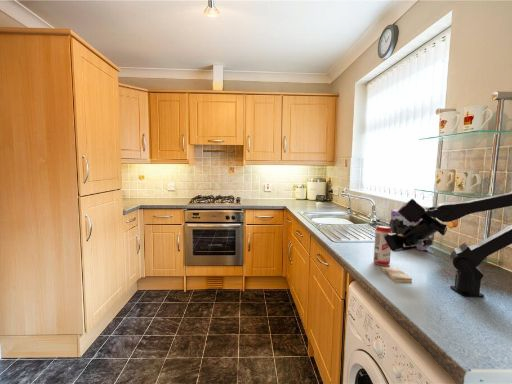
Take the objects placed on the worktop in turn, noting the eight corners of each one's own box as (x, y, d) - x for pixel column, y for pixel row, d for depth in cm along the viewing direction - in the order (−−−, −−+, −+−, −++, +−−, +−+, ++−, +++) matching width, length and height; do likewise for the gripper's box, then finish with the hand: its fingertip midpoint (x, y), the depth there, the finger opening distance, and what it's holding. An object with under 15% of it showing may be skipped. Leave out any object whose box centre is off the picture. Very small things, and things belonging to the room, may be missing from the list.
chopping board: (411, 281, 94) (412, 278, 94) (394, 281, 94) (395, 278, 94) (397, 270, 104) (397, 267, 104) (381, 270, 104) (382, 267, 104)
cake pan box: (387, 240, 144) (389, 209, 142) (394, 239, 146) (396, 208, 144) (421, 251, 127) (424, 215, 125) (428, 250, 129) (431, 215, 127)
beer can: (370, 261, 113) (372, 225, 111) (381, 260, 115) (383, 224, 113) (381, 267, 107) (384, 228, 105) (393, 265, 109) (396, 227, 107)
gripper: (427, 210, 101) (400, 231, 112) (390, 212, 94) (365, 234, 106) (446, 236, 94) (416, 255, 106) (407, 240, 88) (379, 260, 99)
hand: (394, 250), depth 104 cm, fingers closed
